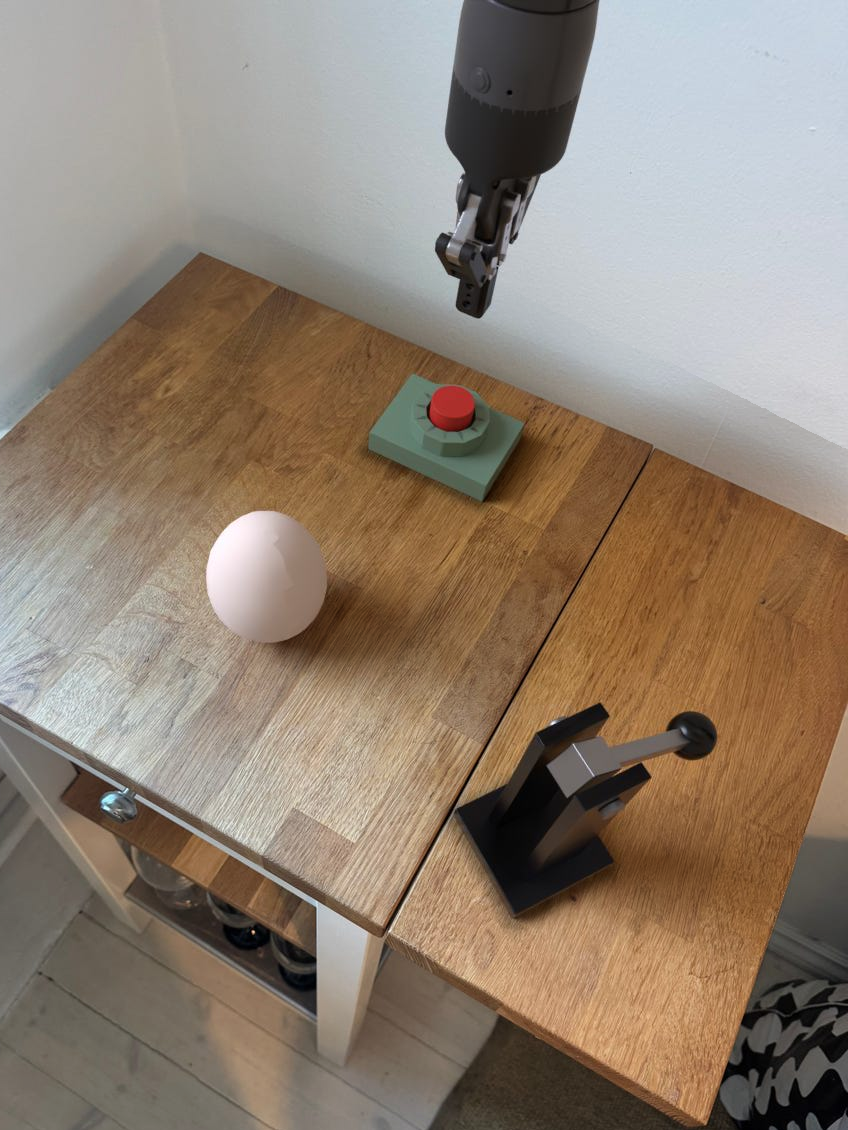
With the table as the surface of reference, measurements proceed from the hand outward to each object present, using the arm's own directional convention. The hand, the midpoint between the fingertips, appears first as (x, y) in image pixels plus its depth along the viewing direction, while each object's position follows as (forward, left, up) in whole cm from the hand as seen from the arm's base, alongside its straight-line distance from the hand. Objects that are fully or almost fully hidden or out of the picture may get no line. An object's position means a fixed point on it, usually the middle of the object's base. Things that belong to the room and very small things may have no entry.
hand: (472, 308), depth 68 cm
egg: (+21, +9, -15) cm, 28 cm away
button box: (0, 0, -15) cm, 15 cm away
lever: (+8, +33, -5) cm, 35 cm away
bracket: (+12, +33, -15) cm, 39 cm away
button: (0, 0, -11) cm, 11 cm away
